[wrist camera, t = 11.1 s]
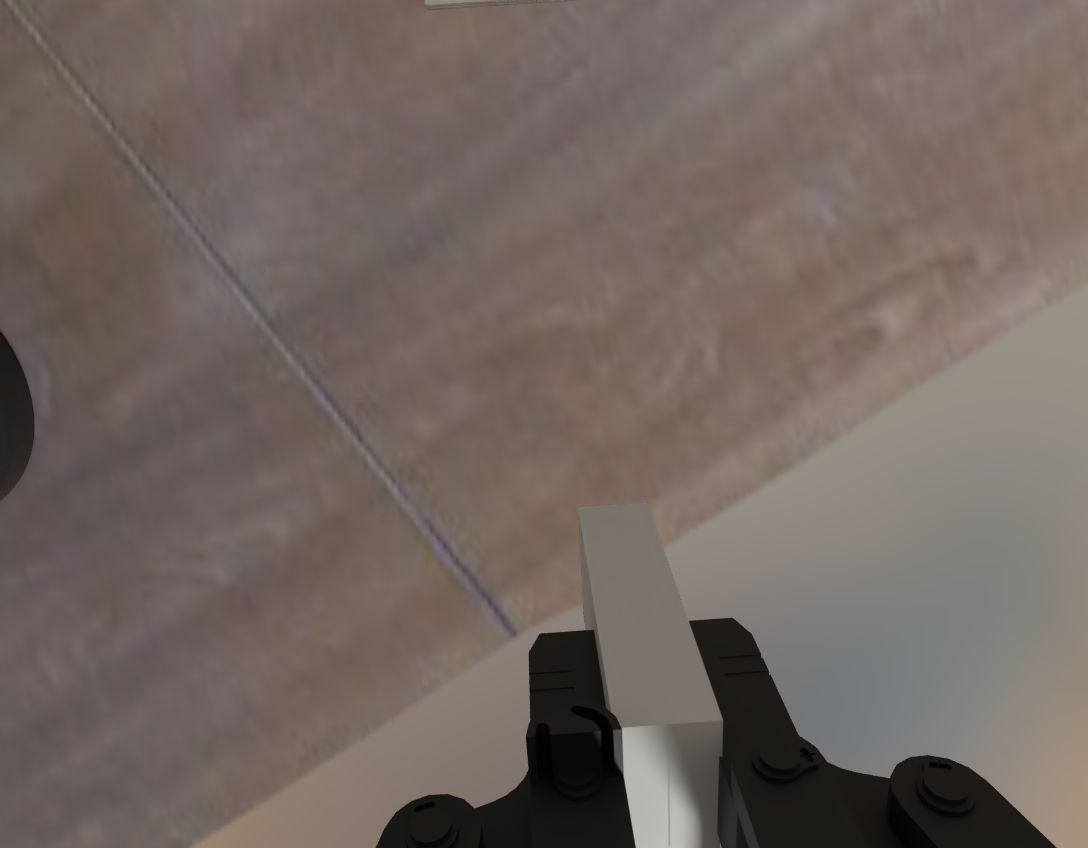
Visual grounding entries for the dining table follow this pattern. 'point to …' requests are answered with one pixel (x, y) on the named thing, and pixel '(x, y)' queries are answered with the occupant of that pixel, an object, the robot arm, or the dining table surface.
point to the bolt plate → (477, 3)
